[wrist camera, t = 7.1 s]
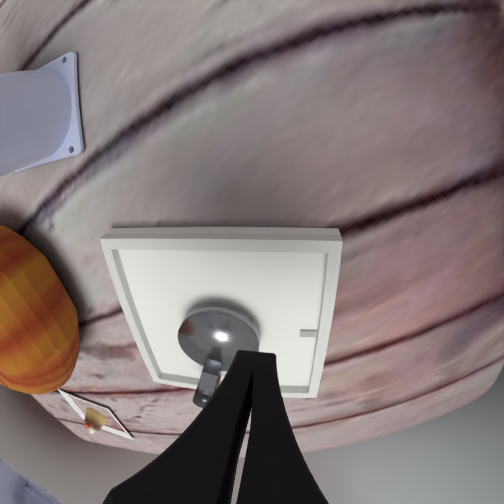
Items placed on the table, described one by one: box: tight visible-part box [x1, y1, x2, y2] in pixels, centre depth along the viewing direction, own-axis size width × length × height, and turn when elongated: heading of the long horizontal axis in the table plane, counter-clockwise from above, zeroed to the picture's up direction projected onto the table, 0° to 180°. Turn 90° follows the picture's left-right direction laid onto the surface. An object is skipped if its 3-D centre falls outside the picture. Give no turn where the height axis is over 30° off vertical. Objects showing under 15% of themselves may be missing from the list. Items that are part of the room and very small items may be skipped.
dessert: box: [59, 390, 134, 440], centre depth 37 cm, size 12×12×5 cm
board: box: [100, 227, 343, 398], centre depth 21 cm, size 16×16×2 cm
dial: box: [178, 302, 261, 408], centre depth 20 cm, size 10×6×3 cm, turn 167°
